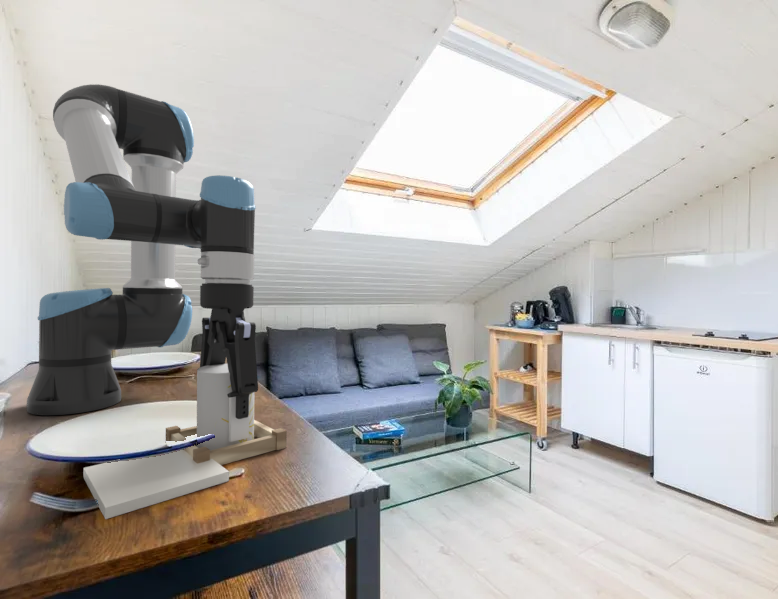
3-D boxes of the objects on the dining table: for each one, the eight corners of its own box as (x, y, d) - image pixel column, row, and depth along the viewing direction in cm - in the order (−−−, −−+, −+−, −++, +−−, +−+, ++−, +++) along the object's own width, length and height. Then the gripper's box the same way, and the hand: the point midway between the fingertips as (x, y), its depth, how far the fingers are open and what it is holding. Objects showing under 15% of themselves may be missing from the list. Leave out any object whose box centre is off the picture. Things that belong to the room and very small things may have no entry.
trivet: (83, 477, 53) (83, 467, 53) (191, 450, 62) (191, 442, 62) (105, 519, 43) (105, 507, 43) (228, 480, 52) (228, 471, 52)
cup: (235, 459, 59) (235, 374, 59) (184, 453, 61) (184, 371, 60) (263, 439, 67) (264, 364, 67) (218, 435, 68) (218, 362, 68)
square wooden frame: (165, 444, 64) (165, 427, 64) (247, 426, 73) (247, 411, 73) (197, 472, 54) (197, 453, 54) (286, 447, 64) (286, 430, 64)
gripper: (177, 281, 68) (176, 420, 68) (233, 281, 53) (231, 458, 54) (223, 282, 73) (222, 411, 74) (285, 282, 58) (283, 444, 59)
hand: (226, 431), depth 64 cm, fingers closed on cup, 8 cm apart
